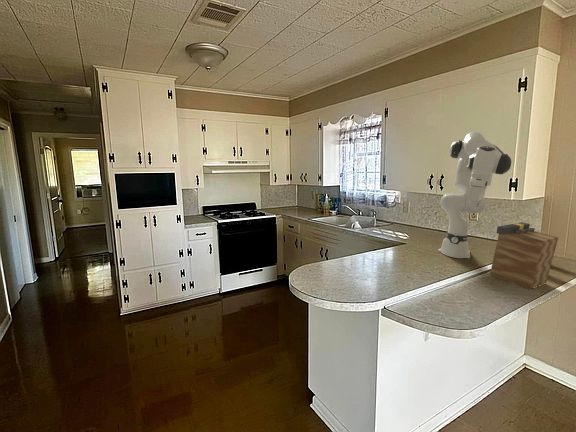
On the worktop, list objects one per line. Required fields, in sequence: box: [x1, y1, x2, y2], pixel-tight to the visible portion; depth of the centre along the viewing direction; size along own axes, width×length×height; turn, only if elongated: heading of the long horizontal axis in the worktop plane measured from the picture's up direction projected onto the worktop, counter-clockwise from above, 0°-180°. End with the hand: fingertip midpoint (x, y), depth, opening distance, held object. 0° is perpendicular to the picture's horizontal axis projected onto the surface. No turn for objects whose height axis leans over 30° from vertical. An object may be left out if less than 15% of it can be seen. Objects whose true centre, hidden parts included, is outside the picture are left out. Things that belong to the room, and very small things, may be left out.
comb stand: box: [489, 227, 559, 290], centre depth 170 cm, size 16×20×28 cm
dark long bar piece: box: [496, 221, 531, 235], centre depth 169 cm, size 24×4×4 cm, turn 119°
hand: (474, 208), depth 159 cm, fingers open, 8 cm apart
